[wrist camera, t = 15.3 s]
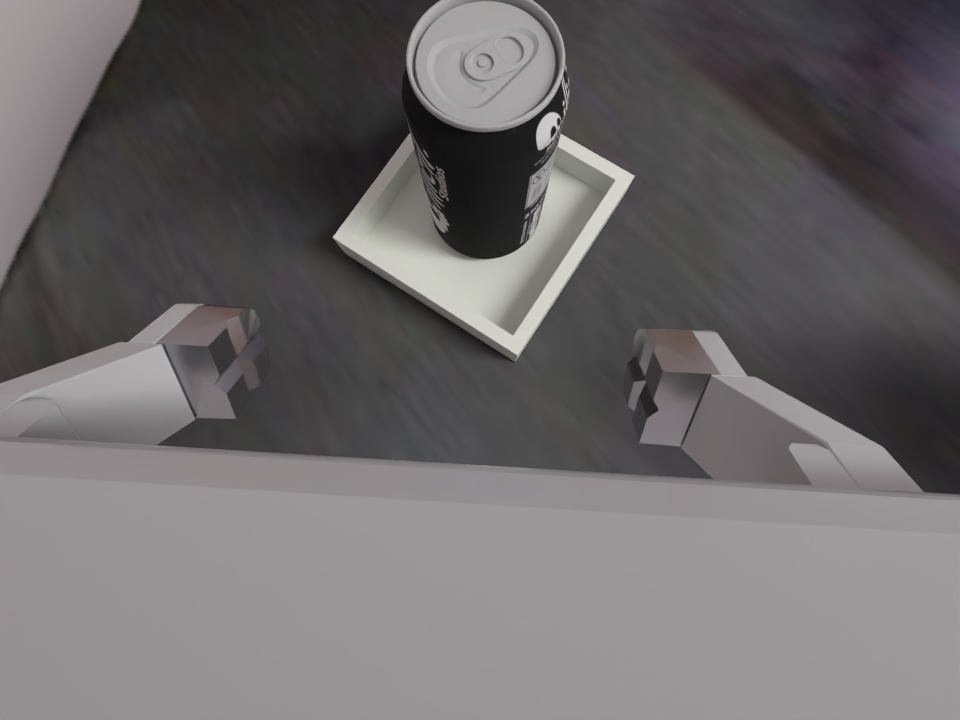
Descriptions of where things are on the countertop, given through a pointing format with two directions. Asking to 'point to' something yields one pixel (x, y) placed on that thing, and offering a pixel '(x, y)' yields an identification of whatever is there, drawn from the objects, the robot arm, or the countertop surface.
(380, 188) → the tray
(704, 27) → the countertop surface
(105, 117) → the countertop surface
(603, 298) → the countertop surface
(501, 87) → the beverage can
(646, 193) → the countertop surface
